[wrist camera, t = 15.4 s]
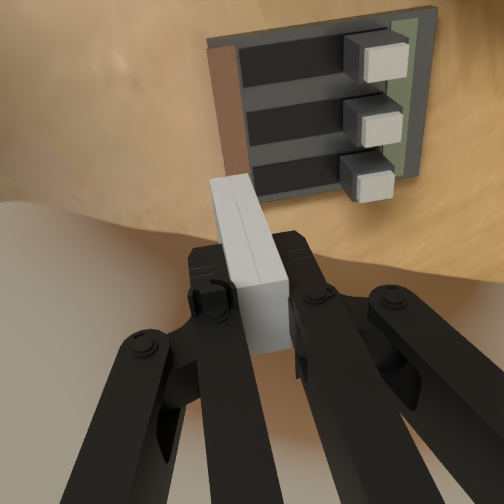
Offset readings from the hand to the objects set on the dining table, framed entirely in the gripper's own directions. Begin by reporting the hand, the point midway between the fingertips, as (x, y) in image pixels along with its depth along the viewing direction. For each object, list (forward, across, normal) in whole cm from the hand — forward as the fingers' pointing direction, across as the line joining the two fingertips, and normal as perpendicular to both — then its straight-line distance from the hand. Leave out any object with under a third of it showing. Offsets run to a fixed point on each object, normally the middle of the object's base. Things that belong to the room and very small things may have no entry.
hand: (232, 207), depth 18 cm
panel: (+27, +12, -7) cm, 30 cm away
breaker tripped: (+24, +15, -12) cm, 31 cm away
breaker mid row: (+24, +15, -6) cm, 30 cm away
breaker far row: (+25, +15, -1) cm, 29 cm away
